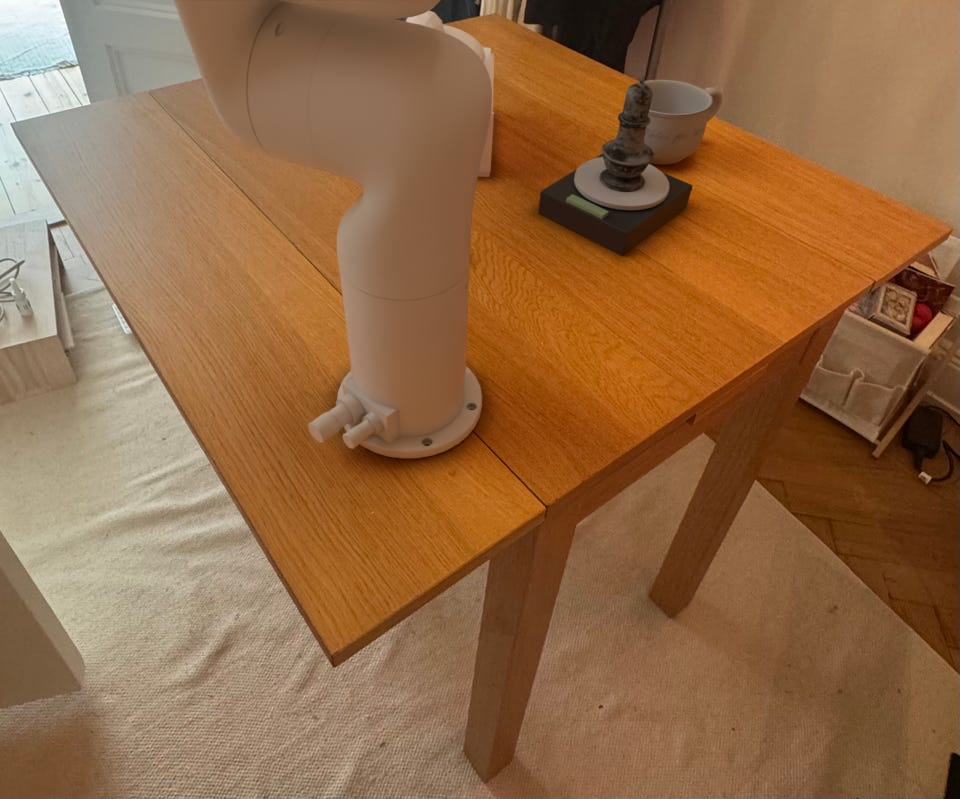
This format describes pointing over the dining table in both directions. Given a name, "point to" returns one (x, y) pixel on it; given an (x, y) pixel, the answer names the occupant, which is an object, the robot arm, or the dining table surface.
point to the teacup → (678, 118)
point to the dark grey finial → (629, 143)
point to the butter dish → (487, 58)
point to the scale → (613, 205)
